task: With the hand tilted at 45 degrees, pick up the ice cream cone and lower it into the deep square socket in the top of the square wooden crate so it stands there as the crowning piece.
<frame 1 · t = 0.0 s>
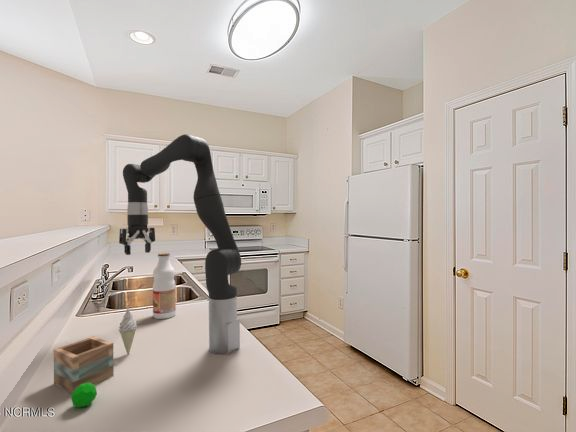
hand: (138, 253, 123), 29 cm above the worktop, tool pointing down, fingers open, 8 cm apart
square wooden crate: (84, 379, 82), on the worktop
polyhedron: (84, 405, 71), on the worktop
ice cream cone: (128, 354, 97), on the worktop
fruit juice: (164, 316, 134), on the worktop
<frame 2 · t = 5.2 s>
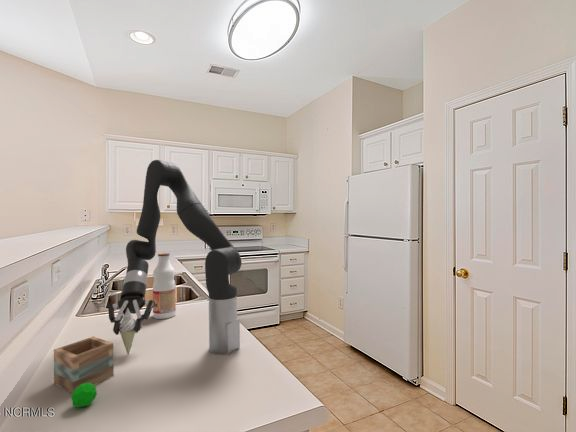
hand: (126, 332, 95), 8 cm above the worktop, tool tilted 45°, fingers closed on ice cream cone, 5 cm apart
ice cream cone: (128, 354, 97), on the worktop, touching gripper
everything else where it was.
when the fingers open (11 cm above the worktop, at t = 12.6 s): ice cream cone stays where it is, resting on square wooden crate.
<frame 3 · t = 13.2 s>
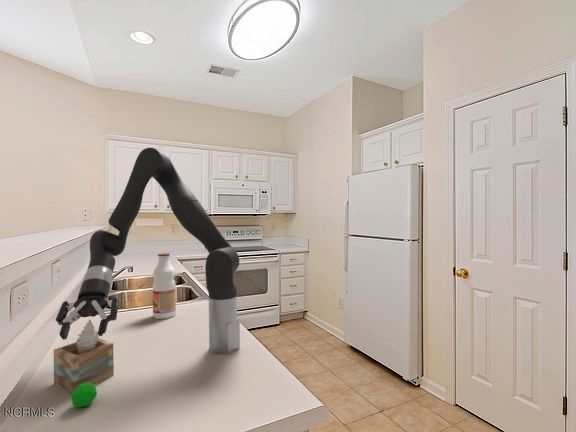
hand: (82, 336, 80), 12 cm above the worktop, tool tilted 45°, fingers open, 8 cm apart
ice cream cone: (83, 368, 82), point 3 cm above the worktop, touching square wooden crate
everything else where it was.
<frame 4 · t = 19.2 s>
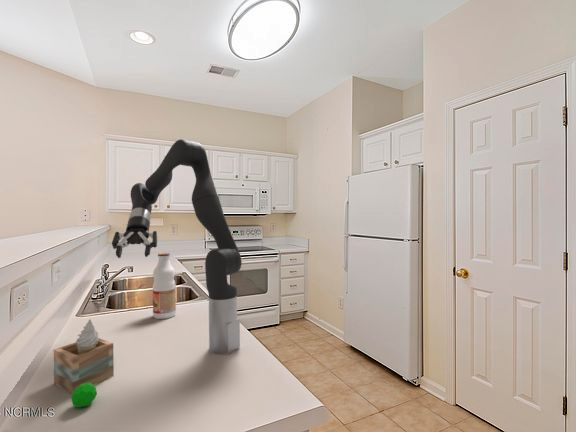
hand: (132, 255, 104), 31 cm above the worktop, tool tilted 45°, fingers open, 8 cm apart
nothing on the worktop moved.
at the end: ice cream cone 0.3 cm off-centre on the square wooden crate, point 2.9 cm above the square wooden crate's base; ice cream cone tilted 17°; the gripper is holding nothing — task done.
